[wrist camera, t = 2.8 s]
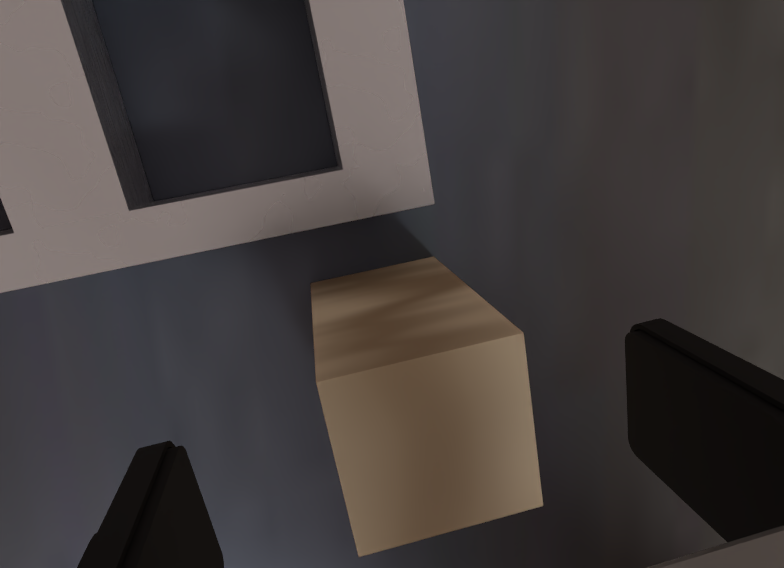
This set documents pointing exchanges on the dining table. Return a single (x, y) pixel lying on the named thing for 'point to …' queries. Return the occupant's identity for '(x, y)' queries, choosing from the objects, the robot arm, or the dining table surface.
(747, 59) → the dining table surface
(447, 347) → the beech block
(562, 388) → the dining table surface
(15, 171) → the rail
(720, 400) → the robot arm
